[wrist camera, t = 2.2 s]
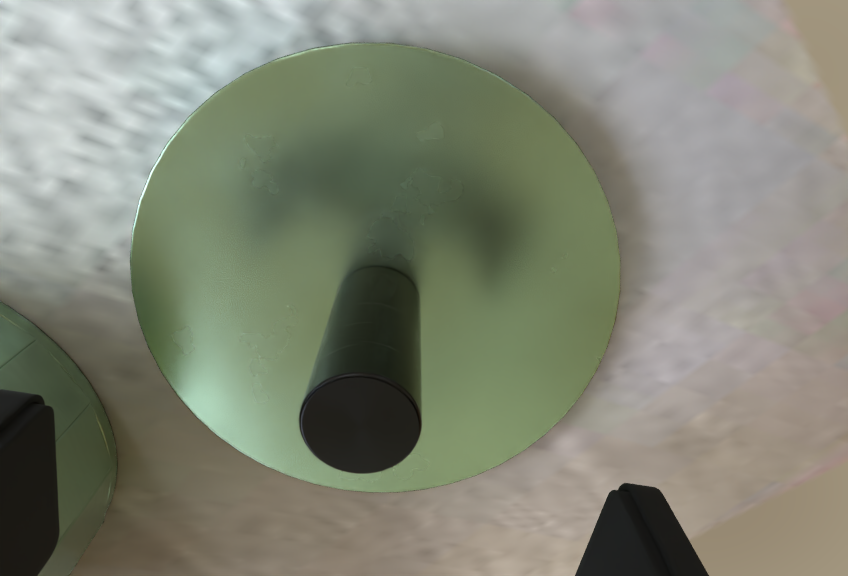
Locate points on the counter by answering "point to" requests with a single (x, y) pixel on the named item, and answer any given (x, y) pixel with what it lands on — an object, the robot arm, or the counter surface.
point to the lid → (375, 267)
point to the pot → (64, 433)
